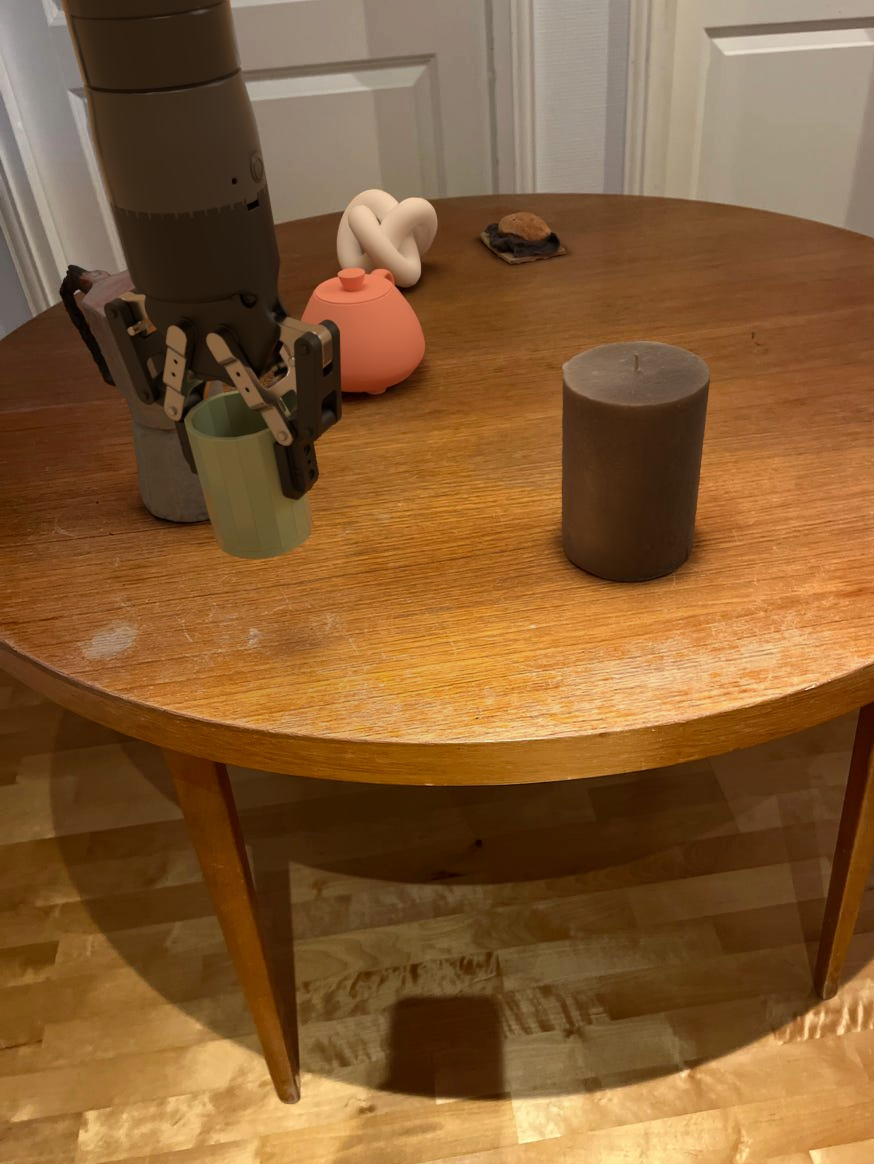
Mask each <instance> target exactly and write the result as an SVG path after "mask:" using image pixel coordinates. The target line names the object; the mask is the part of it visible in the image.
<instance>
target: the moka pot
mask: <svg viewBox="0 0 874 1164" xmlns="http://www.w3.org/2000/svg"><path fill="white" fill-rule="evenodd" d="M134 288H135V286H134V285H133V283H132V281H131V278H130V274H129V270H128V269H126V270H124V271H121V272H117V273H113V274H111V273H109V272H108V271H107V270H106V271H105V270H101V269H94V270H87V269H85V268H83V267H81V266H79V265H76V264H69V265H67V269H66V271H65V276H64V278H63V279H62V283H61V284H60V287H59V290H58V292H59V297H60V298H61V300H62V302H63V307H64V308H65V311H66V312H67V314H68V316H69V318H70V321H71V323H72V324H73V325H74V327H75V329H76V330H78V331H77V332H78V334H79V335H80V337H81V340H82V341H83V342H84V344H85V346H86V348H87V349H88V351H89V352H90V354H91V356H92V359H93V362H94V363H95V364H96V365H97V368H98V371H99V373H100V374H101V377H102V380H103V382H104V383H106V384H107V385H108V386H111V387H115V388H116V390H117V392H118V394H119V395H121V396H122V397H123V398H124V399H125V400H126V403H127V407H128V410H129V413H130V415H131V417H132V418H131V421H130V422H131V430H132V431H131V432H132V439H133V444H134V445H133V446H134V453H135V460H136V470H137V477H138V478H137V479H138V489H139V494H140V499H141V500H142V502H143V504H144V507H146V509H147V510H148V512H150V514H152V515H154V516H156V517H158V518H160V519H164V520H167V521H173V522H175V523H177V522H178V523H192V522H193V523H194V522H200V521H201V522H202V521H207V520H209V521H210V517H209V513H208V510H207V506H206V502H205V498H204V494H203V491H202V487H201V483H200V479H199V476H198V475H195V474H193V473H192V472H191V469H190V465H189V464H188V463H187V461H186V459H185V458H184V456H183V452H182V447H181V445H180V440H179V437H178V434H177V430H176V426H175V423H174V420H172V419H170V418H169V417H168V416H167V414H166V413H165V410H164V407H162V406H160V405H158V404H157V403H153V404H152V405H146V404H144V403H143V402H142V401H141V400H140V399H139V397H138V395H137V393H136V390H135V388H134V385H133V383H132V380H131V378H130V375H129V373H128V370H127V368H126V365H125V363H124V360H123V358H122V355H121V353H120V350H119V348H118V345H117V343H116V340H115V338H114V335H113V333H112V330H111V328H110V325H109V323H108V320H107V318H106V315H105V312H104V305H105V304H106V303H108V302H110V301H112V300H113V299H115V298H117V297H119V296H121V295H123V294H125V293H126V292H128V291H130V290H132V289H134ZM77 291H80V292H82V293H83V294H84V295H85V296H84V297H83V299H81V307H82V309H83V310H81V308H80V307H79V306H78V302H77V300H76V298H75V293H76V292H77ZM83 312H84V313H83ZM86 319H87V320H86ZM147 365H148V368H149V371H150V373H151V376H152V377H153V376H155V375H156V374H157V372H156V370H155V367H154V365H153V362H152V359H151V358H150V359H148V362H147ZM223 384H224V383H223V382H221V381H218V380H217V381H211V383H210V388H209V392H208V397H207V398H210V397H212V396H215V395H218V394H220V393H225V391H224V386H223Z"/></svg>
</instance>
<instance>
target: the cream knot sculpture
mask: <svg viewBox="0 0 874 1164" xmlns="http://www.w3.org/2000/svg"><path fill="white" fill-rule="evenodd" d="M437 231H438V217H437V212H436V209H435V208H434V206H433V205H432V204H431V203H430V202H429V201H428V200H426V199H425V198H422V197H413V196H412V197H407V198H405V199H403V200H402V201H400V202H399V201H397V200H396V198H395V197H393V196H392V195H391V194H389V193H388V192H386V191H384V190H381V189H376V188H372V189H367V190H364V191H362V192H360V193H358V194H357V195H356V196H355V197H353V199H351V201H350V202H349V203H348V205H347V207H345V210H344V212H343V214H342V216H341V219H340V222H339V224H338V229H337V234H336V235H337V236H336V256H337V261H338V263H339V266H340V269H341V270H344V269H347V268H360V269H363V270H364V271H365V274H371V273H372V272H373V271H374V270H376V269H385V270H388V271H389V272H391V274H392V275H393V278H394V285H395V286H396V287H399V288H404V289H405V288H406V289H407V288H412V286H415V285H416V284H417V283H418V281H419V280H420V278H421V274H422V263H421V259H422V258H423V257H424V256H425V255H426V253H427V252H428V251H429V249H430V248H431V246H432V245H433V242H434V239H435V237H436V234H437ZM363 251H364V252H363Z"/></svg>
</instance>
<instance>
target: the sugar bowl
mask: <svg viewBox="0 0 874 1164" xmlns="http://www.w3.org/2000/svg"><path fill="white" fill-rule="evenodd" d="M300 319H301V320H300V321H302V322H305V323H309V324H312V325H318V324H319V323H320V322H322V321H323V320H326V319H328V320H331V321H333V322H334V323H335V324H336V325H337V326H338V328H339V331H340V354H341V392H345V393H364V392H365V393H367V394H369V395H380V394H383V393H384V392H386V390H387V388H390V387H392V386H395V385H397V384H399V383H401V382H403V381H404V380H406V379H407V378H409V377H410V376H411V374H412V373H413V372H415V370H416V369H417V367H418V366H419V364H420V363H421V361H422V360H423V358H424V356H425V352H426V342H425V341H426V340H425V336H424V332H423V328H422V327H421V323H420V321H419V319H418V317H417V315H416V313H415V311H414V310H413V308H412V306H411V305H410V303H409V302H408V300H407V299H406V298H405V297H404V295H403V294H402V293H401V291H400V290H399V289H398V288H397V286H396V285H395V284H394V278H393V275H392V274H391V272H389V271H388V270H385V269H376V270H374V271H373V272H372V273H371V274H365V271H364V270H363V269H360V268H347V269H344V270H342V269H341V270H340V271H339V272H337V276H335V277H332V278H329V279H327V280H325V281H323V282H321V283H320V284H318V286H316V288H314V290H313V291H312V294H311V295H310V298H309V300H308V302H307V304H306V306H305V309H304V311H303V314H302V317H301V318H300Z"/></svg>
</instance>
